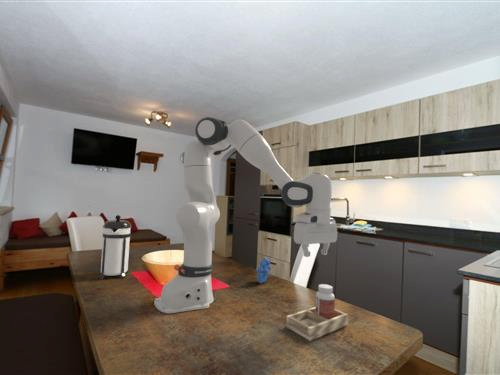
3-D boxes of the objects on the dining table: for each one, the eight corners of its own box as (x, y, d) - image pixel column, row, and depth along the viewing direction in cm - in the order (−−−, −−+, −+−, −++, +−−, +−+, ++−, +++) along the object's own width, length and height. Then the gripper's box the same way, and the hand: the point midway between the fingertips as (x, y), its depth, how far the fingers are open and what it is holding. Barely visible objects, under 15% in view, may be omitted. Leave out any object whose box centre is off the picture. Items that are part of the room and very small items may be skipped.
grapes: (261, 278, 138) (262, 255, 138) (273, 280, 134) (274, 257, 135) (249, 283, 128) (250, 258, 128) (261, 286, 124) (263, 260, 125)
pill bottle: (338, 321, 89) (339, 287, 89) (325, 325, 85) (326, 290, 86) (323, 313, 94) (324, 282, 94) (311, 317, 90) (312, 284, 91)
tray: (310, 340, 77) (310, 328, 78) (286, 326, 85) (286, 315, 86) (347, 324, 89) (347, 314, 89) (323, 313, 97) (323, 304, 97)
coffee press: (138, 274, 134) (142, 215, 135) (107, 282, 120) (112, 216, 122) (119, 268, 143) (122, 213, 145) (88, 275, 130) (92, 214, 131)
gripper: (328, 216, 105) (326, 251, 104) (291, 216, 93) (289, 255, 92) (342, 218, 100) (340, 255, 99) (305, 218, 88) (303, 259, 87)
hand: (315, 255), depth 96 cm, fingers open, 8 cm apart
